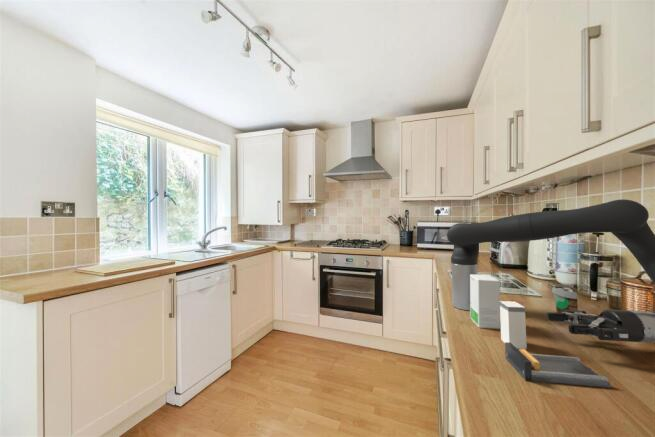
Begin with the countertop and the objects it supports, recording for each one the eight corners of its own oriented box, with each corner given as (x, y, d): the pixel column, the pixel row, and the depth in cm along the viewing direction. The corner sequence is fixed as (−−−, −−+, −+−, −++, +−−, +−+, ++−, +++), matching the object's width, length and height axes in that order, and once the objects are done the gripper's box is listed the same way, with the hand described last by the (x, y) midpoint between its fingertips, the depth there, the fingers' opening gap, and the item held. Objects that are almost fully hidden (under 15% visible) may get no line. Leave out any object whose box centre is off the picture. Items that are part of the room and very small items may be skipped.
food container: (551, 309, 96) (550, 282, 96) (574, 312, 92) (573, 285, 93) (553, 319, 87) (552, 290, 87) (578, 323, 83) (577, 292, 83)
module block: (501, 339, 74) (499, 301, 74) (516, 340, 73) (515, 301, 73) (509, 347, 69) (508, 306, 69) (526, 349, 68) (524, 307, 68)
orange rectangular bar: (520, 357, 62) (519, 348, 62) (524, 357, 61) (524, 349, 61) (534, 371, 56) (534, 362, 56) (539, 371, 55) (539, 362, 56)
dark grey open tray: (505, 358, 64) (505, 342, 64) (576, 363, 60) (576, 346, 60) (525, 380, 55) (524, 361, 55) (610, 388, 52) (609, 368, 52)
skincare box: (470, 318, 90) (468, 274, 90) (490, 319, 88) (489, 274, 89) (479, 328, 81) (477, 279, 82) (502, 329, 80) (500, 279, 80)
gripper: (607, 302, 72) (541, 300, 76) (661, 321, 58) (577, 318, 62) (608, 329, 72) (542, 325, 75) (662, 355, 58) (578, 349, 62)
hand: (558, 322), depth 69 cm, fingers open, 8 cm apart
